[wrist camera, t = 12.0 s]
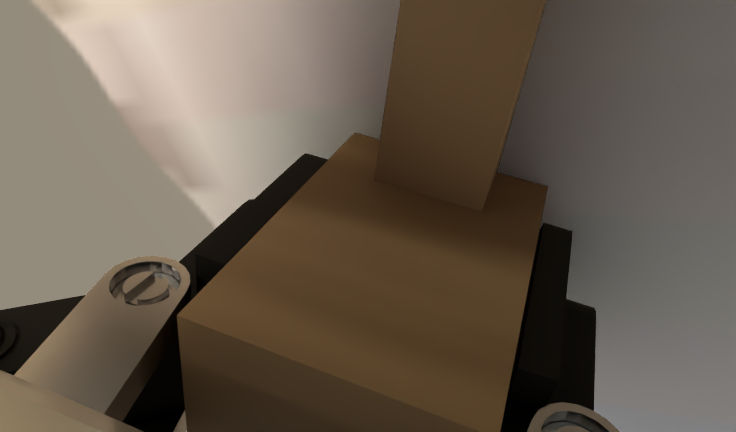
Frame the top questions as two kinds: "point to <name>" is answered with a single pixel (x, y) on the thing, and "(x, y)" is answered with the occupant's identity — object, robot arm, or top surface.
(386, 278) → the brown piece
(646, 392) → the top surface
